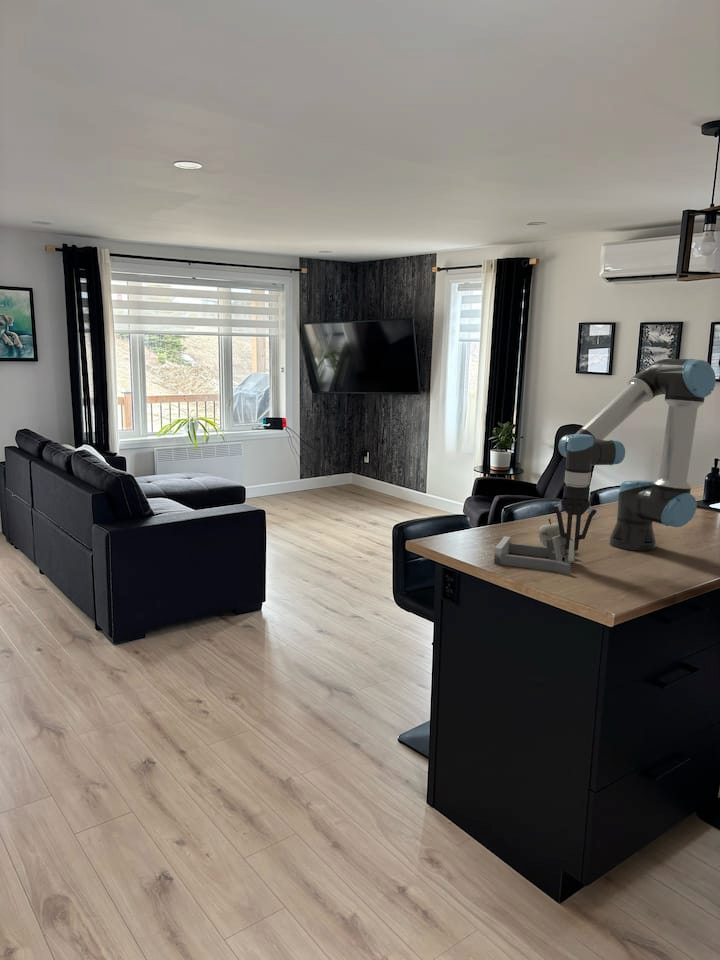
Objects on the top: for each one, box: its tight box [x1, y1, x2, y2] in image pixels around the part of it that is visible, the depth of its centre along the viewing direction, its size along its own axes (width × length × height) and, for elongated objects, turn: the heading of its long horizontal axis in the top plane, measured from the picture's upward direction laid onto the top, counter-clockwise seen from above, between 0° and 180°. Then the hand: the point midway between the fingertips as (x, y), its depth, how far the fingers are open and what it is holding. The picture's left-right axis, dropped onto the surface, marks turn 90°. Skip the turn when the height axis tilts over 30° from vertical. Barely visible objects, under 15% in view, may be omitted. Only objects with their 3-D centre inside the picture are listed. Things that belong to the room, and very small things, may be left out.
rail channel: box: [493, 535, 577, 576], centre depth 223 cm, size 23×21×5 cm
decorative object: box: [538, 518, 565, 547], centre depth 240 cm, size 9×9×10 cm
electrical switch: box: [546, 535, 576, 564], centre depth 222 cm, size 9×5×9 cm, turn 133°
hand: (570, 559), depth 219 cm, fingers closed
